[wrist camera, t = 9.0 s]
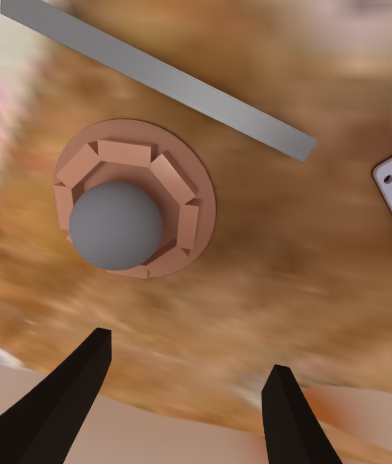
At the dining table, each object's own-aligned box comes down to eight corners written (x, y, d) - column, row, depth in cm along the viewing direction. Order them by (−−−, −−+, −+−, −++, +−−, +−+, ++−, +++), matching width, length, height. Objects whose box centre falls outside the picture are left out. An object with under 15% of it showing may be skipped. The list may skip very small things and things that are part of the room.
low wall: (301, 135, 15) (318, 140, 12) (290, 153, 15) (303, 162, 12) (46, 7, 13) (1, -20, 11) (44, 32, 14) (0, 13, 11)
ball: (185, 217, 17) (171, 259, 12) (133, 255, 19) (103, 304, 14) (132, 154, 16) (91, 175, 11) (81, 203, 18) (27, 238, 13)
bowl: (248, 225, 18) (251, 237, 16) (135, 295, 22) (127, 311, 20) (135, 73, 14) (122, 67, 12) (27, 191, 18) (5, 199, 17)
